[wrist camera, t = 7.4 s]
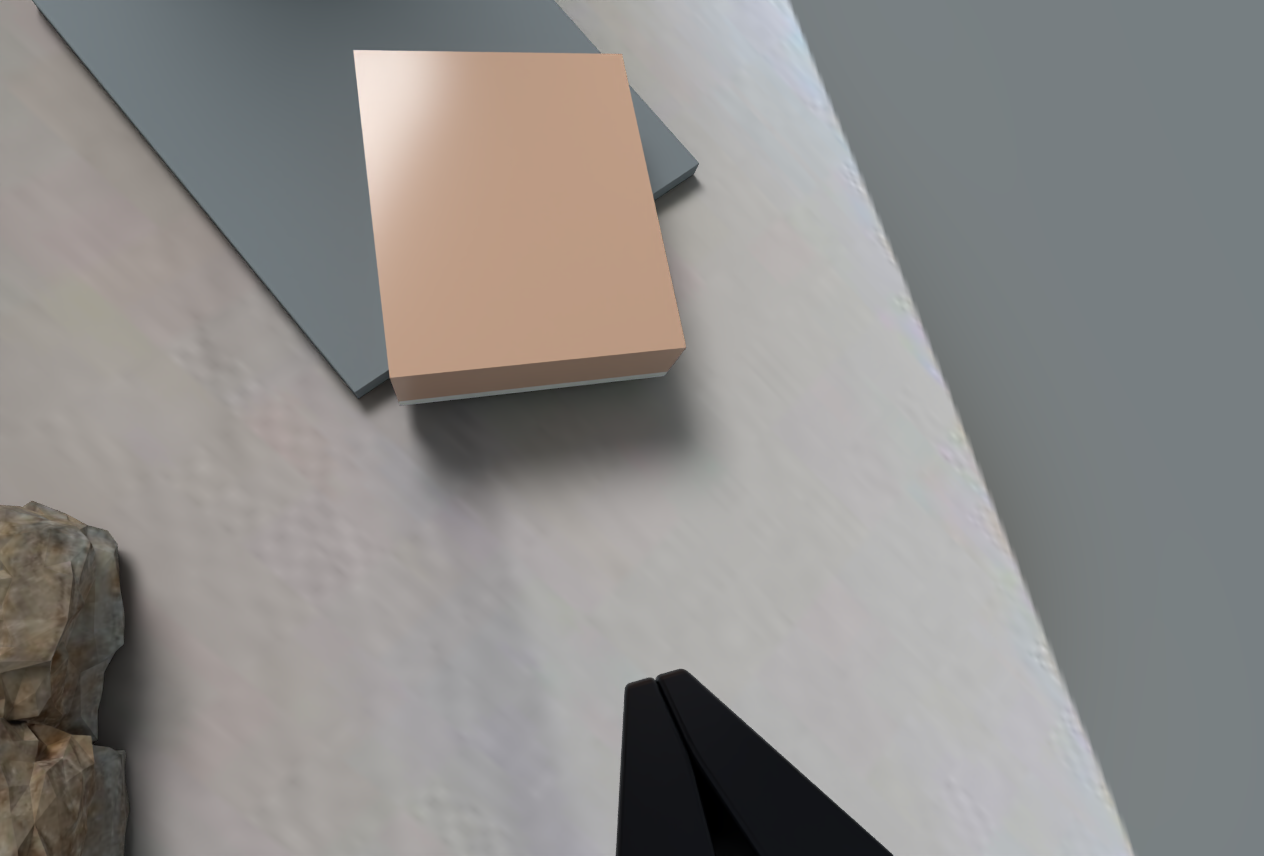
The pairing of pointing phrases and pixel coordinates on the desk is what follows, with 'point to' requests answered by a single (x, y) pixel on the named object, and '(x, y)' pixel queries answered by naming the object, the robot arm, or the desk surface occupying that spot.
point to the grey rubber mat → (301, 128)
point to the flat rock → (57, 686)
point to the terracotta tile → (512, 223)
